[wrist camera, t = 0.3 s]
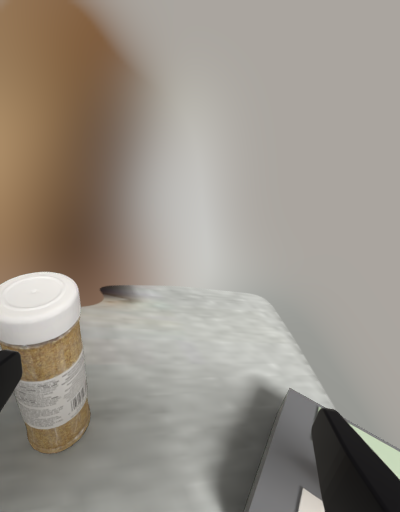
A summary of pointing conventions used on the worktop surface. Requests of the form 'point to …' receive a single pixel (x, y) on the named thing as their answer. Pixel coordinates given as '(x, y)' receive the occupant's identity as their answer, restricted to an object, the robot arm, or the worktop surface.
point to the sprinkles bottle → (47, 357)
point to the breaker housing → (300, 460)
